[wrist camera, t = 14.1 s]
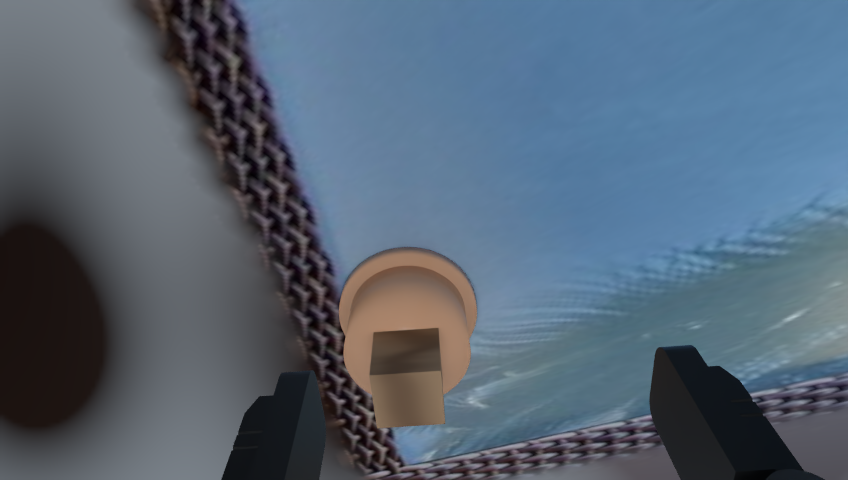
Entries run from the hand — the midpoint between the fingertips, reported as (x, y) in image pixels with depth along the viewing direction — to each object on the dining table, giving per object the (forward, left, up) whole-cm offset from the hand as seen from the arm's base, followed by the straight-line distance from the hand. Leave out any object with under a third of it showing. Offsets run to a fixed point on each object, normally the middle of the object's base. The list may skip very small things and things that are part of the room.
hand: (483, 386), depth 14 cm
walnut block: (+4, +20, -26) cm, 33 cm away
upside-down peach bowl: (+4, +20, -33) cm, 39 cm away
